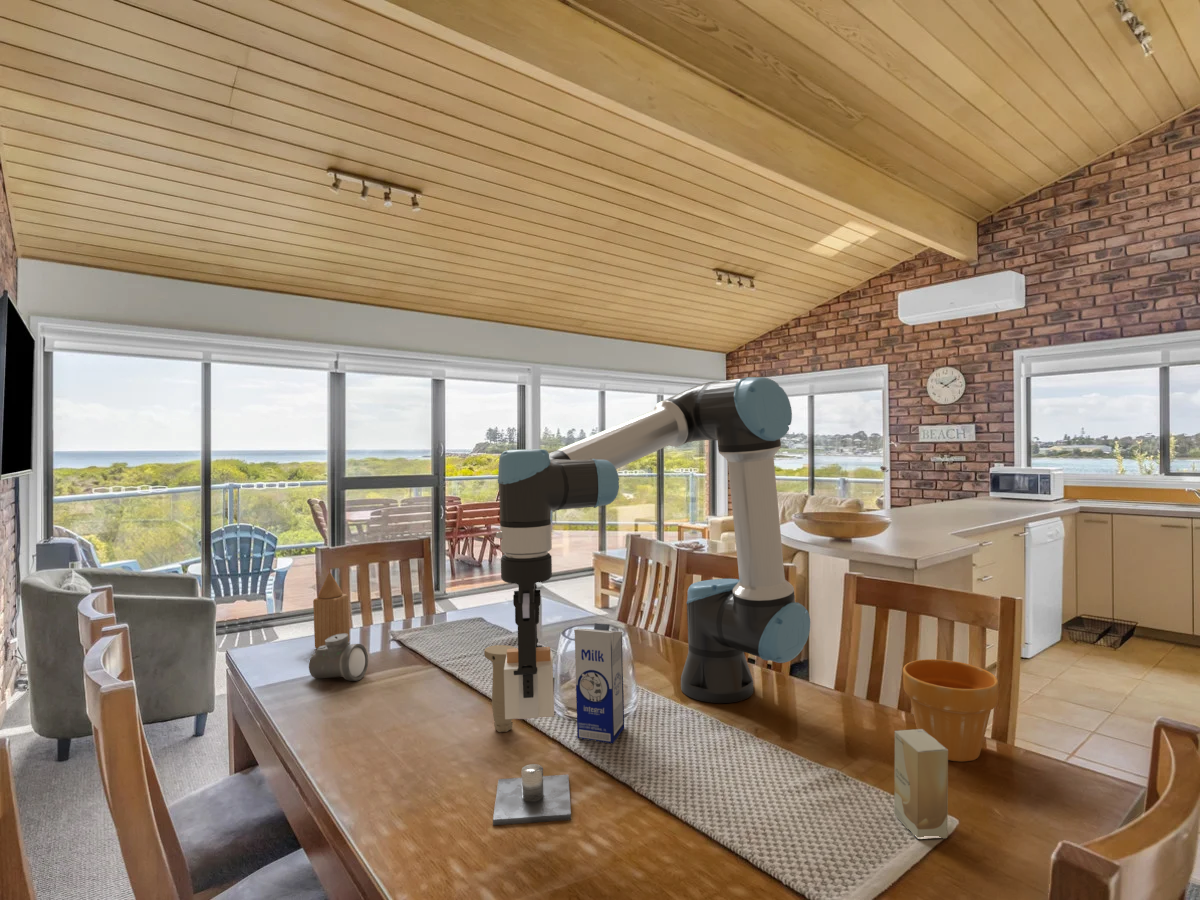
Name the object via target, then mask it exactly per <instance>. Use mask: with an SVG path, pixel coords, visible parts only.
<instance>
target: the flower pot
mask: <svg viewBox="0 0 1200 900" xmlns="http://www.w3.org/2000/svg"><path fill="white" fill-rule="evenodd" d="M902 681H903V683H902V684H903V685H902V686H903V690H904V693H905V694H906V695H907V696H908V697H909V699H910V704H911V708H912V713H913V716H914V717H913V718H914V722H915V723H914V724H915V727H916V729H923V730H924V731H925V732H927V733H928V734H929V735H930V736H932V737H933V738H935V739H936V740H937V741H938V742H939V743H940V744H941V745H943V746H944V747H945V748H946V749H948V761H953V762H959V763H960V762H961V763H962V762H970V761H976V759H978V758H979V757H980V754H981V751H982V747H983V744H984V740H985V735H986V731H987V728H988V724H989V719H990V715H991V712H992V710H994V709H995V708H996V707H997V706H998V704H999V703H998V702H999V679H998V677H997V676H995V675H994V674H993V673H992V672H990V671H988V670H986V669H984V668H982V667H979V666H976V665H974V664H969V663H964V662H961V661H955V660H948V659H947V660H946V659H938V658H937V659H933V658H932V659H918V660H913V661H910V662H908V663H906V664H905V665H904V666H903V668H902Z"/></svg>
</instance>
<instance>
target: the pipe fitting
mask: <svg viewBox="0 0 1200 900" xmlns="http://www.w3.org/2000/svg"><path fill="white" fill-rule="evenodd" d="M349 638H350V636H349V637H348V634H347V633H341V634H336V635H333V636H331V637H329V638H327V639H326V640H325V644H326V645H324V646H320V647H318V648H316V650H315V652H314V653H313V654H312V656H311V657H310V659H309V663H308V671H309V673H310V676H311V677H312V678H314V679H327V678H341V677H342V678H344V679H345V680H346V681H349V682H357V681H360V680H362V679H363V677H364V676H365V675H366V673H367V670H368V667H369V655H368V651H367V648H366V647H365V645H363V644H362V643H352V644H350V642H348V639H349Z"/></svg>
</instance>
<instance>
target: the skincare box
mask: <svg viewBox="0 0 1200 900" xmlns="http://www.w3.org/2000/svg"><path fill="white" fill-rule="evenodd" d="M948 771H949V760H948V749H946V748H945V747H944V746H943V745H941V744H940V743H939V742H938V741H937V740H936V739H935V738H933V737H932V736H930V735H929V734H928V733H927V732H925V731H924V730H923V729H917V728H916V729H899V730H894V795H893V796H894V798H893V799H894V805H893V806H894V809H893V810H894V813H893V814H894V815H895V817H897V819H898V820H899V821H900V822H901V824H902V825H904V827H905V828H906V829H907V830H908V829H909V830H910V831H911V832H912V833H913V834H914V835H916V836H917V837H924V836H939V837H941V838H943V839H947V838H948V808H949V807H948V803H949V802H948V800H949V799H948V797H949V795H948V792H949V791H948V789H949V772H948ZM909 830H908V831H909ZM910 831H909V832H910ZM911 832H910V833H911ZM912 833H911V834H912ZM913 834H912V835H913ZM914 835H913V836H914Z"/></svg>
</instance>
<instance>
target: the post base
mask: <svg viewBox="0 0 1200 900" xmlns="http://www.w3.org/2000/svg"><path fill="white" fill-rule="evenodd" d="M543 771H544V768H543V766H542V765H540V764H537V763H532V764H531V763H530V764H526V765H525V766H522V768H521V771H520V773H521V777H513V778H498V781H497V787H496V795H495V803H494V809H493V816H492V817H493V818H492V826H502V825H505V826H506V825H514V824H515V825H516V824H519V825H520V824H528V823H531V824H533V823H545V822H559V821H570V820H572V812H571V811H572V810H571V796H570V795H571V794H570V781H569V780H570V778H569V777H570V775H569V774H557V775H556V774H555V775H554V774H553V775H544V772H543Z"/></svg>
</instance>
